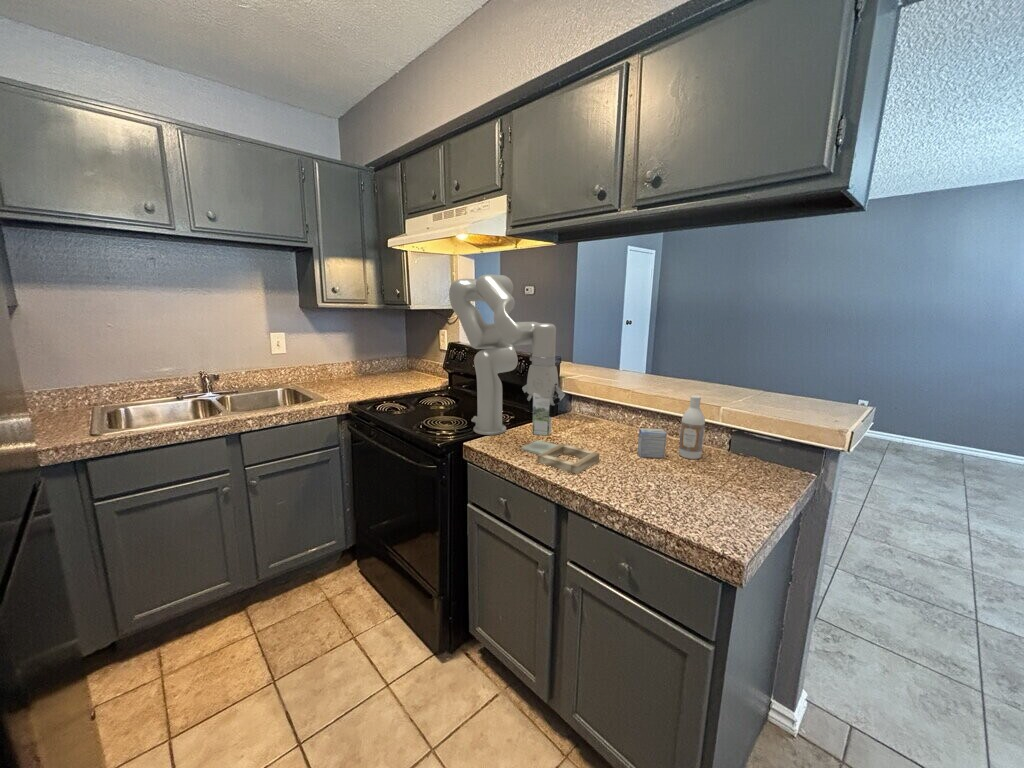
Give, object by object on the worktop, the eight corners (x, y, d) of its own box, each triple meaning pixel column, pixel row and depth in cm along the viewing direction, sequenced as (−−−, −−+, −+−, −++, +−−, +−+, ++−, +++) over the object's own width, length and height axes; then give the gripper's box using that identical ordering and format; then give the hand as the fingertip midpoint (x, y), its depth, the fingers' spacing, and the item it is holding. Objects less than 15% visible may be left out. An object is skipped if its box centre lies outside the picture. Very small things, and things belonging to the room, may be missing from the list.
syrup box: (551, 431, 144) (552, 390, 141) (549, 436, 138) (550, 394, 135) (535, 430, 145) (535, 389, 142) (532, 435, 139) (532, 393, 136)
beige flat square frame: (537, 462, 130) (537, 455, 130) (561, 450, 141) (561, 443, 141) (576, 474, 122) (577, 466, 121) (599, 460, 133) (599, 453, 132)
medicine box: (661, 453, 139) (663, 428, 138) (664, 458, 135) (667, 433, 133) (637, 452, 140) (638, 427, 138) (639, 457, 136) (641, 432, 134)
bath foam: (675, 456, 137) (681, 396, 133) (681, 450, 142) (687, 393, 138) (698, 461, 133) (704, 400, 129) (703, 455, 138) (709, 396, 134)
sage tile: (520, 449, 142) (521, 447, 142) (537, 442, 149) (538, 439, 149) (545, 456, 136) (545, 454, 136) (561, 448, 143) (562, 446, 143)
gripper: (515, 360, 139) (514, 411, 143) (560, 365, 128) (558, 421, 132) (528, 358, 145) (528, 407, 148) (572, 363, 134) (570, 416, 138)
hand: (542, 413), depth 140 cm, fingers closed on syrup box, 7 cm apart
